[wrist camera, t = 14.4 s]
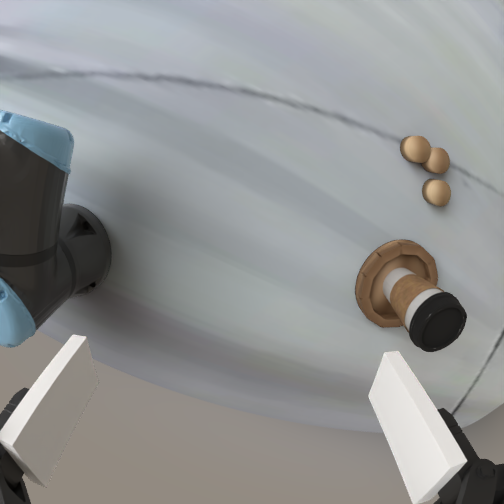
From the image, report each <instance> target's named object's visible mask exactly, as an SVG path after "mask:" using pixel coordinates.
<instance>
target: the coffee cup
mask: <svg viewBox="0 0 504 504" xmlns="http://www.w3.org/2000/svg"><path fill="white" fill-rule="evenodd" d="M383 293H384V295H385V296H386V298H387V299H388V301H389V302H390V304H391V306H392V307H393V309H394V310H395V312H396V314H397V315H398V317H399V318H400V320H401V322H402V323H403V325H404V327H405V328H406V330H407V331H408V332H409V335H410V339H411V340H412V342H413V343H414V344H415V345H416V346H417V347H419V348H421V349H422V350H424V351H426V352H434V351H438V350H441V349H443V348H445V347H447V346H448V345H450V344H451V343H452V342H454V341H455V340H456V339H457V338H458V337H459V335H460V334H461V332H462V331H463V329H464V326H465V323H466V318H467V314H466V312H465V310H464V308H463V307H462V306H461V304H460V303H459V301H458V300H457V298H456V297H454V296H453V295H452V294H450V293H448V292H444V291H443V290H442V289H440V288H438V287H437V286H435V285H433V284H432V283H430V282H428V281H427V280H425V279H423V278H421V277H420V276H418V275H416V274H414V273H413V272H411V271H409V270H408V269H406V268H396V269H394V270H392V271H391V272H390V273H389V274H388V275H387V276H386V278H385V280H384V282H383Z"/></svg>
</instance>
